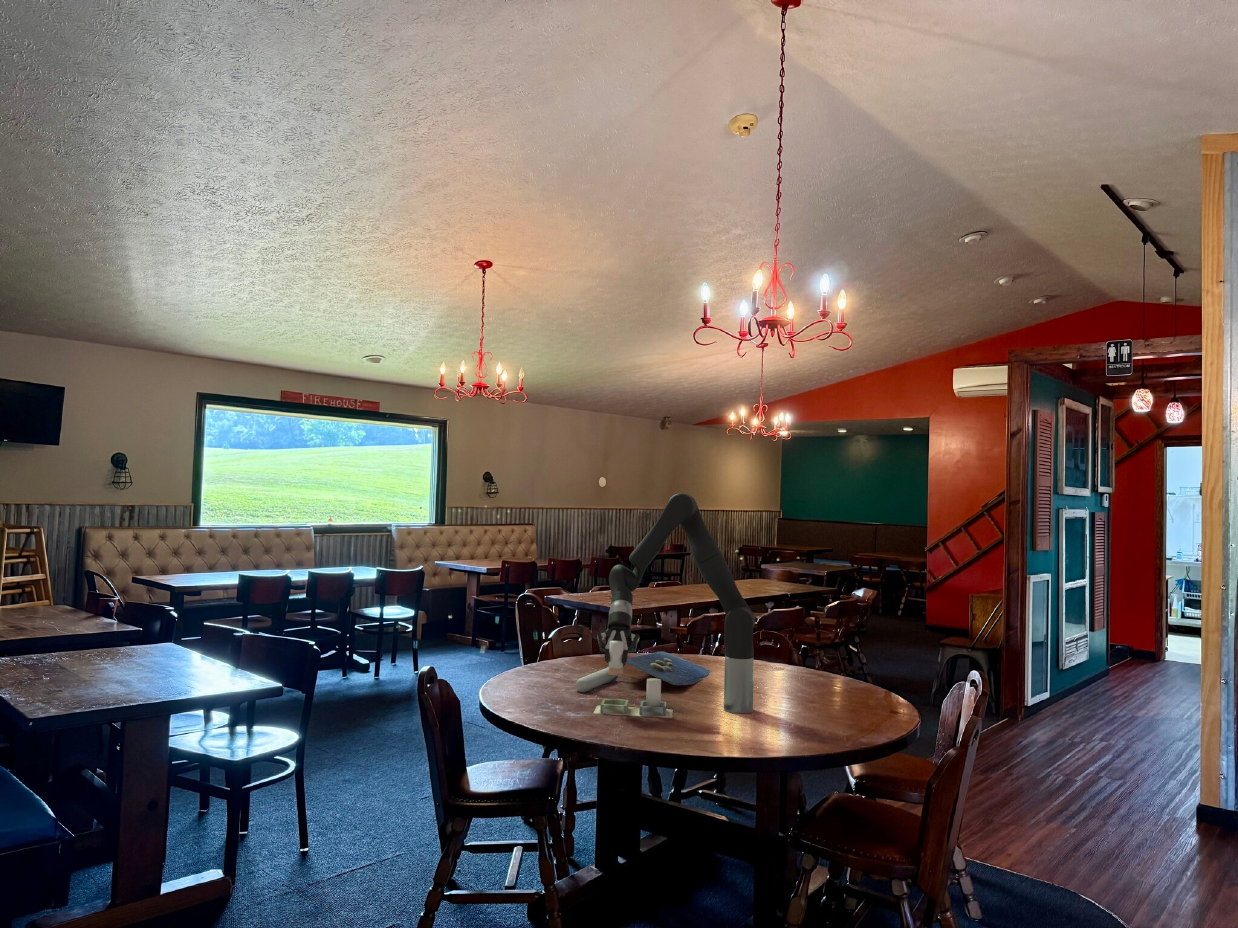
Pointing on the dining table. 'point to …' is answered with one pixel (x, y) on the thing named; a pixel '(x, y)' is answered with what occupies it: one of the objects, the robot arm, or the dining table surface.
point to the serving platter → (668, 668)
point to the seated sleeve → (653, 692)
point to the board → (632, 709)
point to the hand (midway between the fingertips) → (615, 661)
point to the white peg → (615, 658)
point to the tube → (594, 680)
